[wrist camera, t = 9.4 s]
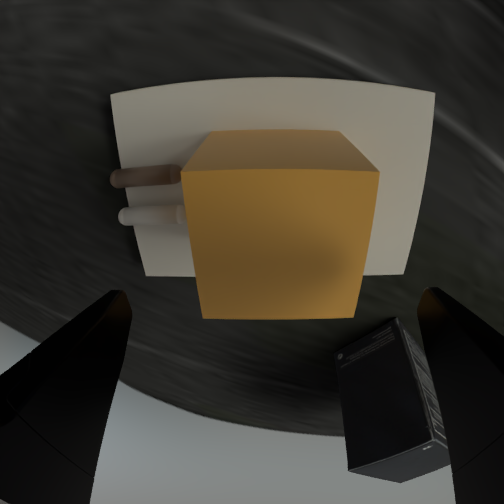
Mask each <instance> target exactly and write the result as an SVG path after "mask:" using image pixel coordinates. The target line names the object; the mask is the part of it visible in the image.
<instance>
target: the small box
mask: <svg viewBox="0 0 504 504" xmlns="http://www.w3.org/2000/svg"><path fill="white" fill-rule="evenodd" d="M334 360H335V366H336V372H337V379H338V385H339V393H340V400H341V408H342V416H343V424H344V433H345V441H346V450H347V460H348V471H349V472H353V473H357V474H361V475H365V476H370V477H374V478H379V479H383V480H388V481H393V482H398V483H402V482H405V481H408V480H411V479H413V478H416V477H419V476H422V475H425V474H427V473H430V472H433V471H435V470H438V469H440V468H443V467H445V466H448V465H450V464H451V463H450V457H449V452H448V446H447V441H446V436H445V431H444V426H443V422H442V417H441V413H440V408H439V404H438V400H437V396H436V392H435V388H434V384H433V381H432V377H431V373H430V370H429V366H428V363H427V359H426V355H425V353H424V352H423V350H422V349H421V348H420V346H419V345H418V344H417V342H416V341H415V339H414V338H413V337H412V335H411V334H410V333H409V331H408V330H407V329H406V328H405V326H404V325H403V324H402V323H401V321H400V320H399V318H395V319H393V320H391V321H390V322H388V323H387V324H385V325H383V326H382V327H380V328H378V329H377V330H375V331H373V332H372V333H370V334H368V335H366V336H364V337H363V338H361V339H359V340H357V341H355V342H353V343H351V344H349V345H348V346H346V347H344V348H342V349H340V350H339V351H337V352H335V353H334Z"/></svg>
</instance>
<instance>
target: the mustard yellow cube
mask: <svg viewBox="0 0 504 504" xmlns="http://www.w3.org/2000/svg"><path fill="white" fill-rule="evenodd" d="M180 173H181V181H182V189H183V196H184V204H185V211H186V218H187V225H188V232H189V239H190V245H191V252H192V258H193V264H194V270H195V276H196V282H197V288H198V294H199V299H200V305H201V310H202V316H203V318H207V319H324V318H352V317H354V313H355V309H356V304H357V300H358V296H359V291H360V287H361V282H362V277H363V273H364V268H365V263H366V258H367V253H368V247H369V242H370V236H371V230H372V225H373V218H374V212H375V206H376V199H377V192H378V184H379V177H380V171H379V170H378V169H377V168H376V167H375V166H374V165H373V164H372V163H371V162H370V161H369V160H368V159H367V158H366V157H365V156H364V155H363V154H362V153H361V152H360V151H359V150H358V149H357V148H356V147H355V146H354V145H353V144H352V143H351V142H350V141H349V140H348V139H347V138H346V137H345V136H344V135H343V134H342V133H341V132H340V131H328V130H294V129H260V130H226V131H212V132H211V133H210V134H209V135H208V137H207V138H206V139H205V140H204V142H203V143H202V144H201V145H200V147H199V148H198V149H197V151H196V152H195V153H194V155H193V156H192V157H191V158H190V160H189V161H188V162H187V164H186V165H185V166H184V168H183V169H182V170H181V172H180Z"/></svg>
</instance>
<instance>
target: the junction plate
mask: <svg viewBox="0 0 504 504" xmlns="http://www.w3.org/2000/svg"><path fill="white" fill-rule="evenodd" d="M110 96H111V104H112V112H113V119H114V126H115V133H116V139H117V146H118V152H119V157H120V163H121V169H117V170H114V171H113V172H112V173H111V175H110V183H111V185H112V186H113V187H115V188H125V189H126V194H127V199H128V204H129V207H125V208H123V209H121V210H120V212H119V214H118V219H119V221H120V223H121V224H123V225H126V226H130V225H133V226H134V230H135V235H136V239H137V243H138V247H139V251H140V255H141V259H142V262H143V266H144V270H145V274H146V276H189V277H196V276H195V270H194V264H193V258H192V252H191V245H190V239H189V232H188V225H187V218H186V211H185V204H184V196H183V189H182V181H181V173H180V172H181V170H182V169H183V168H184V166H185V165H186V164H187V162H188V161H189V160H190V158H191V157H192V156H193V155H194V153H195V152H196V151H197V149H198V148H199V147H200V145H201V144H202V143H203V142H204V140H205V139H206V138H207V137H208V135H209V134H210V133H211V132H212V131H226V130H260V129H294V130H328V131H340V132H341V133H342V134H343V135H344V136H345V137H346V138H347V139H348V140H349V141H350V142H351V143H352V144H353V145H354V146H355V147H356V148H357V149H358V150H359V151H360V152H361V153H362V154H363V155H364V156H365V157H366V158H367V159H368V160H369V161H370V162H371V163H372V164H373V165H374V166H375V167H376V168H377V169H378V170H379V171H380V177H379V184H378V192H377V199H376V206H375V212H374V218H373V225H372V230H371V236H370V242H369V247H368V253H367V258H366V263H365V268H364V273H363V275H393V274H403V273H404V270H405V266H406V262H407V259H408V255H409V251H410V247H411V243H412V239H413V235H414V230H415V226H416V222H417V217H418V212H419V208H420V203H421V197H422V192H423V187H424V181H425V175H426V169H427V163H428V156H429V149H430V141H431V133H432V124H433V113H434V102H435V93H432V92H429V91H425V90H419V89H414V88H408V87H402V86H395V85H388V84H381V83H373V82H364V81H354V80H343V79H329V78H309V77H246V78H226V79H212V80H201V81H191V82H182V83H173V84H166V85H159V86H152V87H146V88H140V89H134V90H128V91H123V92H119V93H115V94H111V95H110Z"/></svg>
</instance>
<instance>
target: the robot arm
mask: <svg viewBox="0 0 504 504" xmlns="http://www.w3.org/2000/svg"><path fill="white" fill-rule="evenodd" d="M417 316H418V320H419V325H420V330H421V335H422V340H423V345H424V350H425V355H426V359H427V363H428V366H429V370H430V373H431V377H432V381H433V384H434V388H435V392H436V396H437V400H438V404H439V408H440V413H441V417H442V422H443V426H444V431H445V436H446V441H447V446H448V452H449V457H450V463H451V469H452V473H453V474H452V477H453V484H454V492H455V501H456V504H504V336H503V335H501V334H500V333H499V332H497V331H496V330H495V329H494V328H492V327H491V326H490V325H488V324H487V323H486V322H485V321H483V320H482V319H481V318H479V317H478V316H477V315H475V314H474V313H473V312H471V311H470V310H469V309H467V308H466V307H465V306H463V305H462V304H460V303H459V302H458V301H456V300H455V299H454V298H452V297H451V296H449V295H448V294H447V293H445V292H444V291H442V290H441V289H440V288H438V287H428V288H426V289H425V290H424V292H423V295H422V297H421V300H420V303H419V306H418V309H417ZM131 321H132V310H131V307H130V304H129V301H128V298H127V295H126V293H125V292H124V291H123V290H111V291H109V292H108V293H107V294H105V295H104V296H103V297H101V298H100V299H98V300H97V301H96V302H94V303H93V304H92V305H90V306H89V307H88V308H86V309H85V310H84V311H82V312H81V313H80V314H78V315H77V316H76V317H75V318H73V319H72V320H71V321H69V322H68V323H67V324H65V325H64V326H63V327H61V328H60V329H59V330H58V331H56V332H55V333H54V334H52V335H51V336H50V337H49V338H47V339H46V340H45V341H44V342H42V343H41V344H40V345H38V346H37V347H36V348H35V349H33V350H32V351H31V353H28V354H27V355H26V356H25V357H24V358H23V359H21V360H20V361H18V362H17V363H16V364H15V365H13V366H12V367H11V368H9V369H8V370H7V371H5V372H4V373H3V374H1V375H0V504H90V498H91V493H92V487H93V482H94V478H93V477H94V476H95V471H96V466H97V461H98V457H99V453H100V448H101V444H102V439H103V435H104V431H105V427H106V423H107V419H108V415H109V411H110V408H111V404H112V400H113V396H114V393H115V389H116V385H117V382H118V378H119V375H120V372H121V368H122V365H123V361H124V356H125V351H126V346H127V341H128V336H129V331H130V326H131Z"/></svg>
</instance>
